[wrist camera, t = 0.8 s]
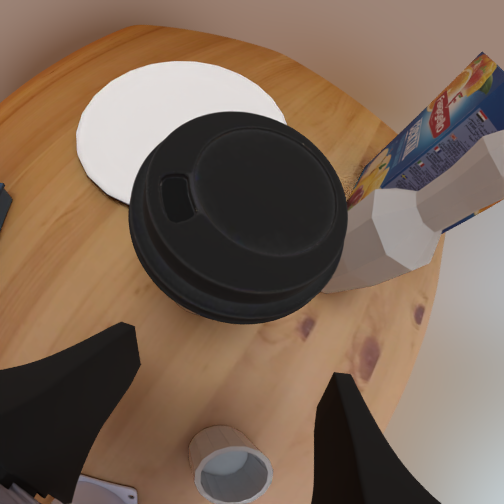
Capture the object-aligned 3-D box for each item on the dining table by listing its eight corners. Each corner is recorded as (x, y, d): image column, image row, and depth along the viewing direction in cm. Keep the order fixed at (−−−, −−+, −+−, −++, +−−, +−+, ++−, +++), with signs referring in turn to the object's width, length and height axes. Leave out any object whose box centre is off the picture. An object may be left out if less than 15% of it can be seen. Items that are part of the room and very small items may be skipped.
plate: (48, 121, 23) (46, 114, 22) (199, 51, 34) (200, 45, 33) (166, 275, 22) (166, 271, 21) (322, 147, 33) (327, 141, 32)
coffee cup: (126, 274, 21) (76, 167, 8) (207, 210, 26) (253, 79, 12) (202, 359, 21) (260, 382, 8) (277, 284, 25) (392, 212, 12)
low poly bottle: (296, 237, 27) (472, 73, 8) (348, 246, 29) (518, 128, 9) (297, 300, 25) (536, 179, 5) (351, 303, 27) (558, 218, 7)
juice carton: (381, 264, 30) (560, 162, 8) (335, 223, 29) (509, 77, 8) (402, 201, 35) (525, 106, 13) (364, 166, 35) (482, 51, 13)
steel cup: (247, 476, 18) (268, 503, 13) (186, 474, 17) (193, 505, 12) (253, 426, 20) (277, 445, 15) (190, 422, 19) (197, 444, 14)
